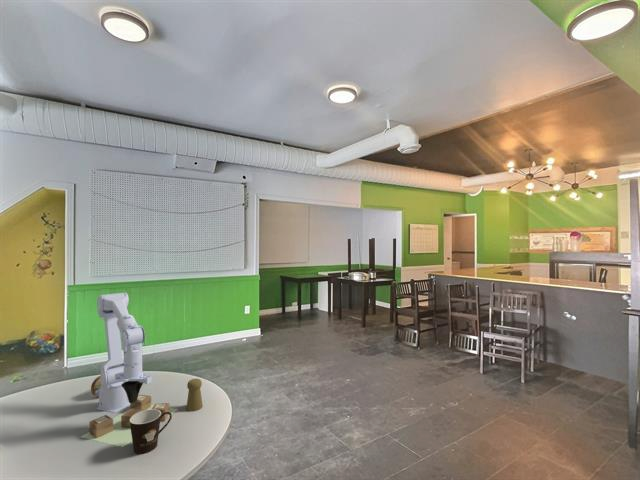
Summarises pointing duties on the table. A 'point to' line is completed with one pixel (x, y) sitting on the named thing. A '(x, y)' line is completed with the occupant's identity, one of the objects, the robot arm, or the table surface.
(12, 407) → the table surface
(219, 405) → the table surface
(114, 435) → the mat
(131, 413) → the plain block
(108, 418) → the tile block
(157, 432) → the coffee mug
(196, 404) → the cork
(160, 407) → the tile block
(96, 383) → the tin
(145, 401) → the tile block
